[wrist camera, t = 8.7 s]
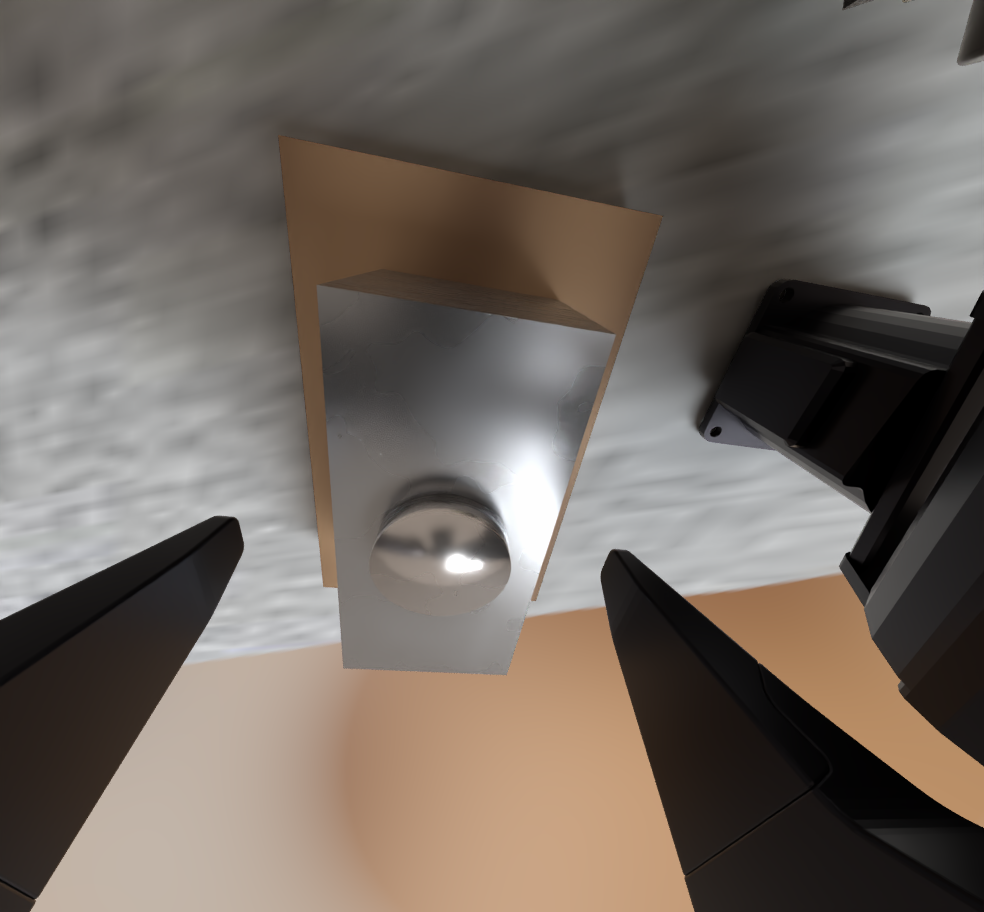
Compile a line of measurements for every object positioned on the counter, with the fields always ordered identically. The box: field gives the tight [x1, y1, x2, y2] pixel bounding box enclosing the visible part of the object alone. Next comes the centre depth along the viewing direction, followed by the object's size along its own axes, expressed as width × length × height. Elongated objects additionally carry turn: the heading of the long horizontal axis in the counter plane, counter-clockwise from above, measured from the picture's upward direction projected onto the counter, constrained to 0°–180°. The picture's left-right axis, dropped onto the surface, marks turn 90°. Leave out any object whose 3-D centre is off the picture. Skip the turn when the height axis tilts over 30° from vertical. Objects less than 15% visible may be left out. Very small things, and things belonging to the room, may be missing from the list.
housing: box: [317, 269, 616, 675], centre depth 11 cm, size 11×5×6 cm, turn 171°
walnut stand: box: [278, 135, 663, 601], centre depth 14 cm, size 10×16×2 cm, turn 171°
